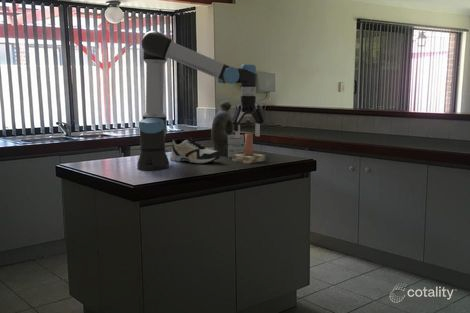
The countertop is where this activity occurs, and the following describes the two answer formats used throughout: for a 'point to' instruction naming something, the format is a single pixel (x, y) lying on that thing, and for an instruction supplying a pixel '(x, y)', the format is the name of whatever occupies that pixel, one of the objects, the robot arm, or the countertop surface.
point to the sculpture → (222, 128)
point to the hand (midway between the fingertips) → (247, 137)
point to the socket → (248, 158)
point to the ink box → (235, 145)
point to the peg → (249, 144)
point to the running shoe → (192, 152)
